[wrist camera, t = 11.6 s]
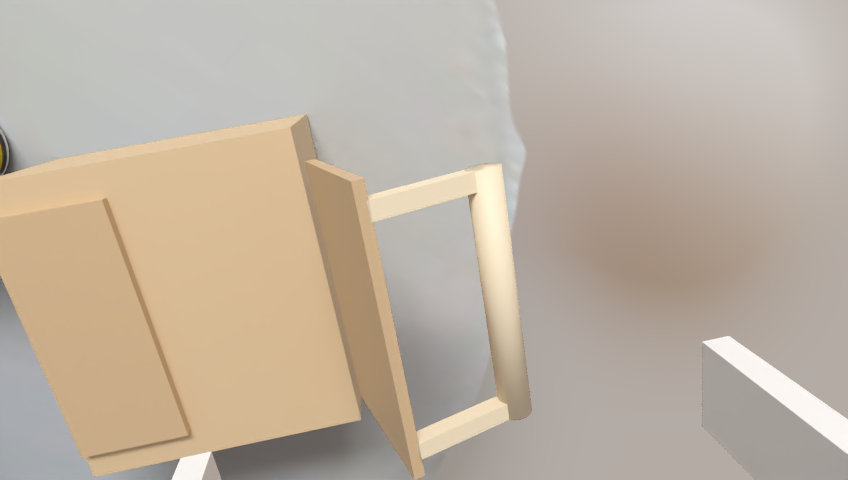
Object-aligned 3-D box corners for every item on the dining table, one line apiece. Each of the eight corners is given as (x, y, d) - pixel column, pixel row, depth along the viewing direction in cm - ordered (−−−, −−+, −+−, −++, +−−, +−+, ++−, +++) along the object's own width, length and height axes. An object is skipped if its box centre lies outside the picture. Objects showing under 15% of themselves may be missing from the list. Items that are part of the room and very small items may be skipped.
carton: (150, 394, 46) (91, 485, 36) (60, 158, 39) (-43, 188, 29) (361, 350, 47) (361, 427, 37) (306, 114, 40) (288, 128, 30)
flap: (417, 485, 28) (540, 426, 30) (353, 182, 23) (506, 144, 25) (360, 395, 36) (460, 356, 39) (304, 161, 31) (423, 134, 34)
